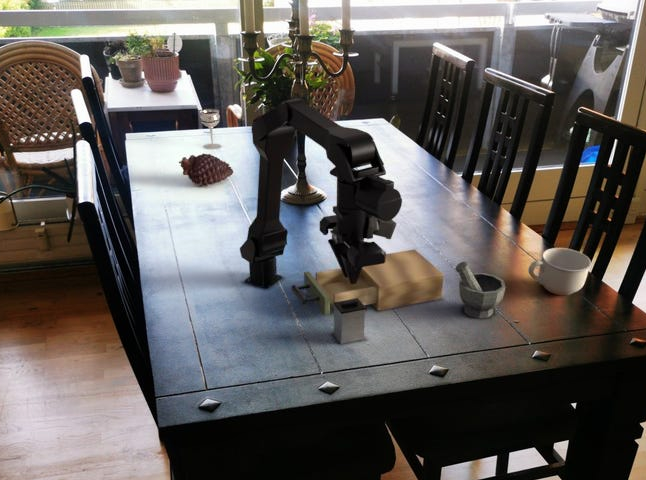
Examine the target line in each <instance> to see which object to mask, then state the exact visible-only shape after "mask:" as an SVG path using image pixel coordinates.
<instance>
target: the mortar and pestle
mask: <svg viewBox="0 0 646 480" xmlns="http://www.w3.org/2000/svg"><path fill="white" fill-rule="evenodd" d="M455 271H456V272H457V273H458V274H459V276H460V277H459V281H458V287H459V297H460V300H461V302H462V304H464V313H465V314H467V315H468V316H470V317H473V318H478V319H485V318H489V317H491V316H492V315H493V313H494V308H495V307H497V306H498V305H499V304H500V303H501V301H503V298H504V296H505V293H506V285H505V280H503V279H502V278H500V277H499V276H497V275H495V274H491V273H485V272H472V270H471V268H470V263H468V262H467V261H461V262H459V263H457V265H456V266H455Z"/></svg>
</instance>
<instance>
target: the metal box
mask: <svg viewBox="0 0 646 480" xmlns="http://www.w3.org/2000/svg"><path fill="white" fill-rule="evenodd" d="M366 309H367V307H366V305H363V304H362V303H361V302H360V300H359V299H358V298H355V299H350V300H344V301H339V302H334V309H333V336H334V337H335V338H336V339H337V341H338V342H339V344H340V345H342V344H343V345H344V344H349V343H354V342H358V341H363V340H365V319H366V315H365V314H366Z"/></svg>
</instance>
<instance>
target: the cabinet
mask: <svg viewBox="0 0 646 480" xmlns="http://www.w3.org/2000/svg"><path fill="white" fill-rule="evenodd" d="M362 272H363V273H364V274H365V275H366V276H367V277H368V278H369V279H370V280H371V281H372V282H373V283H374V284H375V285H376V286H377V287H378V293H377V303H374V304H372V306H373V307H374V308H375V309H376V310H377V311H378V312H379V311H384V310H389V309H393V308H400V307H406V306H410V305H415V304H421V303H426V302H427V303H428V302H433V301H438V300H442V295H443V285H444V275H445V274H444V273H443V272H442V271H441V270H439V269H438V268H437V267H436V266H435V265H434V264H433V263H431V262H430V261H429V260H428V259H427V258H425V257H424V256H423V255H422V254H421V253H419V251H418V250H416V249H407V250H402V251H395V252H389V253H386V262H385V263H384V264H378V265H372V266H366V267H362Z"/></svg>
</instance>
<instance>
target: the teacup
mask: <svg viewBox="0 0 646 480" xmlns="http://www.w3.org/2000/svg"><path fill="white" fill-rule="evenodd" d="M591 265H592V262H591V259H590V258H589V256H587V255H586V254H584V253H582V252H580V251H579V250H575V249H571V248H566V247H551V248H548V249H546V250H544V251H543V252H542V253H541V260H534V261H533V262H531V263H530V265H529V266H528V270H527V271H528V274H529V276H530V277H531V278H532V279H533V280H535V281H537V283H538V284H539V285H541V286H543V287H544V289H546V290H547V291H548V292H549V293H551V294H555V295H558V296H569V295H571V294H574V293H577V292H579V291H580V290H581V289H582V288H583V287H584V285H585V283H586V281H587V278H588V274H589V270H590V267H591ZM537 267H539V271H538V275H537V274H535V272H534V271H535V269H536V268H537Z"/></svg>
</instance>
